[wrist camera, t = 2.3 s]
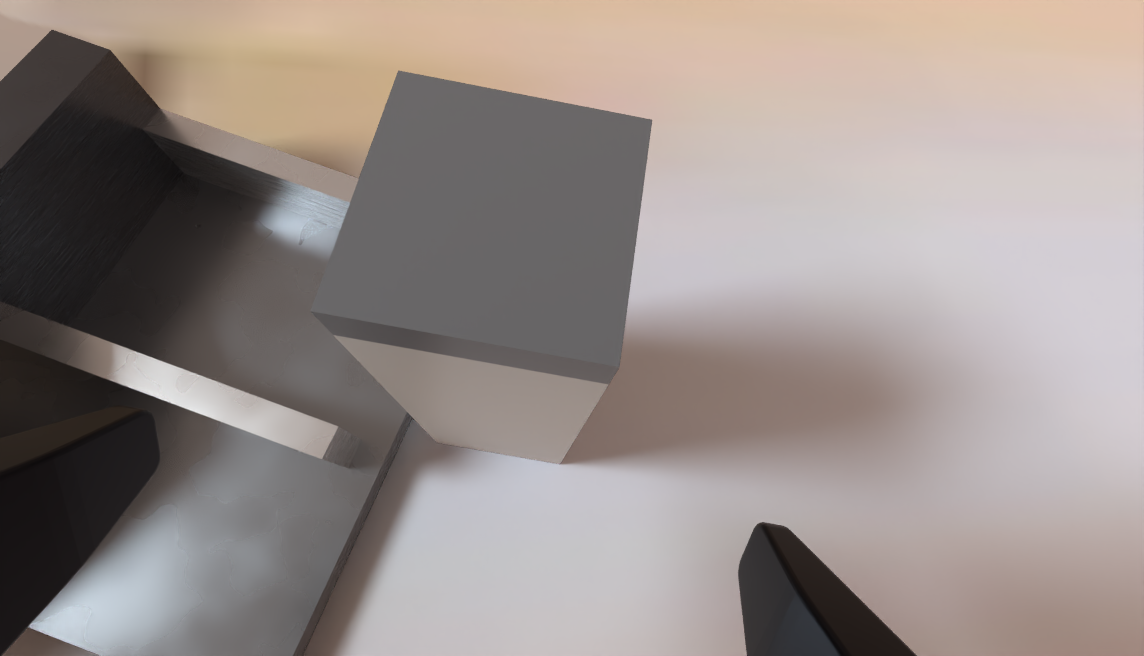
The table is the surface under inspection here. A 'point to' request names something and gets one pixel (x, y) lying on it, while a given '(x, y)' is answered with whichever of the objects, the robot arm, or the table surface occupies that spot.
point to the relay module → (490, 262)
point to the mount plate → (184, 358)
